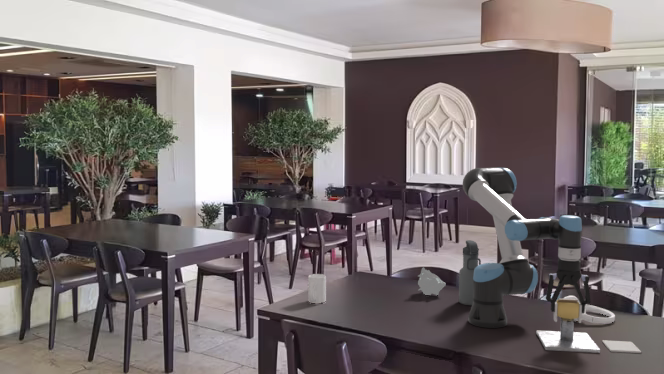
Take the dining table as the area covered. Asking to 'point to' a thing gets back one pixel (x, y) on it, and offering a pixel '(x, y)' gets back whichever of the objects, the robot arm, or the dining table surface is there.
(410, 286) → the dining table surface
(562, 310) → the cap
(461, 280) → the water bottle
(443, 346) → the dining table surface
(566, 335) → the post fixture
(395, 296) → the dining table surface
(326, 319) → the dining table surface
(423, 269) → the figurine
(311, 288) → the pale gray rounded block
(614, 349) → the mat
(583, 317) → the headphones
